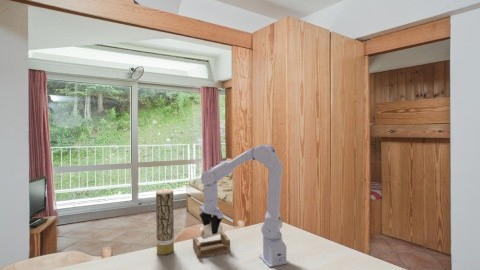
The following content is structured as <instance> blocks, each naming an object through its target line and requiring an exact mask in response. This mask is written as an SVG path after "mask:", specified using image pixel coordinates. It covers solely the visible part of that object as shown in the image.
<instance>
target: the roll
mask: <svg viewBox="0 0 480 270" xmlns="http://www.w3.org/2000/svg"><path fill="white" fill-rule="evenodd" d="M222 232H224V231H223V225H222V223H221V222H220V224H219V228H218V232H217V233H216V234H212V228H211V223H210V224H208V225H201V226H200V228H199V233H200V237H201V238H202V239H204V240H206V239H208V238H212V237H215V236H218V235H220V234H221V233H222Z"/></svg>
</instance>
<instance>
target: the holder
mask: <svg viewBox="0 0 480 270" xmlns="http://www.w3.org/2000/svg"><path fill="white" fill-rule="evenodd" d="M219 235H220V238H219V239H214V240H207V241H202V242H201V241H199V239H198V237H197V235H193V236H192V249H193V251H194V254H195V255H196V258H197V259H200V258H205V257H211V256H217V255H223V254H228V253H229V254H230V252H231V239H230V238H229V237H228V236H227V235H226V233H225V232H224V231H222V233H221V234H219Z"/></svg>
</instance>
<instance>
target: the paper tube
mask: <svg viewBox="0 0 480 270" xmlns="http://www.w3.org/2000/svg"><path fill="white" fill-rule="evenodd" d="M155 192H156V193H155V201H156V202H155V204H156V206H155V207H156V208H155V209H156V210H155V215H156V218H155V219H156V220H155V222H156V224H155V225H156V226H155V227H156V252H157V253H156V254H158V255H161V256H163V255H169V254H171V253H173V252H174V248H175V245H174V244H175V243H174V242H175V241H174V239H175V238H174V236H175V235H174V233H175V230H174V227H175V226H174V217H175V216H174V213H175V212H174V190H173V189H168V188H167V189H166V188H165V189H160V190H156V191H155Z"/></svg>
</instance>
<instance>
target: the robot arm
mask: <svg viewBox="0 0 480 270" xmlns="http://www.w3.org/2000/svg"><path fill="white" fill-rule="evenodd" d="M248 161H257V162H258V163H260V164H262V165H263V166H264V167H266V169H268V185H267V199H266V200H267V202H266V212H265V216H264V222H263V224H262V226H261V229H260V230H261V234H262V253H260V254H258V255H259V258H260V259H261V260H262V261H263V262H264V263H265V264H266V265H267V266H268V267H270V268H273V267H277V266H281V265H287V264H289V261H288V260H287V245H286V244H285V242H284V241H283V234H282V232H281V229H282V227H283V221H282V219H281V218H282V217H281V211H280V210H281V209H280V208H281V194H282V181H283V180H282V179H283V170H284V169H283V168H284V167H283V163H282V161H281V160H280V157H279V156H278V153H277V151H276V149H275V148H274V147H273V146H271V145H270V144H269V143H267V144H266V143H265V144H259V145H257V146H255V147H252V148H250V149H247V150H245V151H244V152H243V153H241V154H240V155H237V156H236V157H235V158H233V159H232V160H230V161H228V160H220V161H219V164H217V165H215V166H211V167H210V170H205V171H204V172H202V173H201V178H200V179H201V180H200V181H201V182H202V183H203V205H200V206H199V208H198V209H199V212H201V213H199V214H198V215H199V217H200V218H201V221H202V224H203V225H202V226H204V225H208V224H211V228H212V234H216V233H217V232H218V228H219V224H220V223H221V222H222V220H223V219H224V212H222V211H221V210H220V208H219V206H218V201H219V200H218V182H219V181H221V180H222V179H224V178H225V177H227V176H229V175H231V174H233V171H234V168H237V167H238V166H240V165H242V164H244V163H246V162H248Z"/></svg>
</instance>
